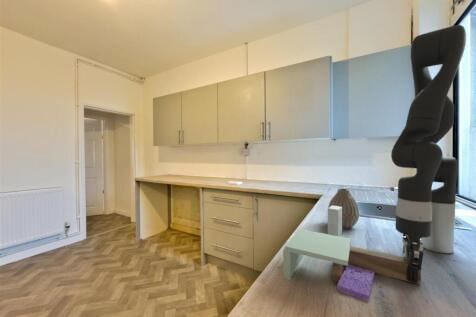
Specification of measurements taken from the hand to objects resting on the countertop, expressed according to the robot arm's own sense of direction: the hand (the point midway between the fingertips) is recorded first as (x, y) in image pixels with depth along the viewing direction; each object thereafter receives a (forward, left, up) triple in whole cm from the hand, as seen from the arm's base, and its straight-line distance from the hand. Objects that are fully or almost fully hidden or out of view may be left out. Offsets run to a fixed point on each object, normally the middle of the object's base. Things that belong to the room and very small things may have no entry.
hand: (410, 277), depth 59 cm
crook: (+5, -8, 0) cm, 10 cm away
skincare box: (-22, -22, -1) cm, 31 cm away
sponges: (+9, -13, -1) cm, 16 cm away
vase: (-36, -20, -1) cm, 41 cm away
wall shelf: (+9, -22, -1) cm, 24 cm away
